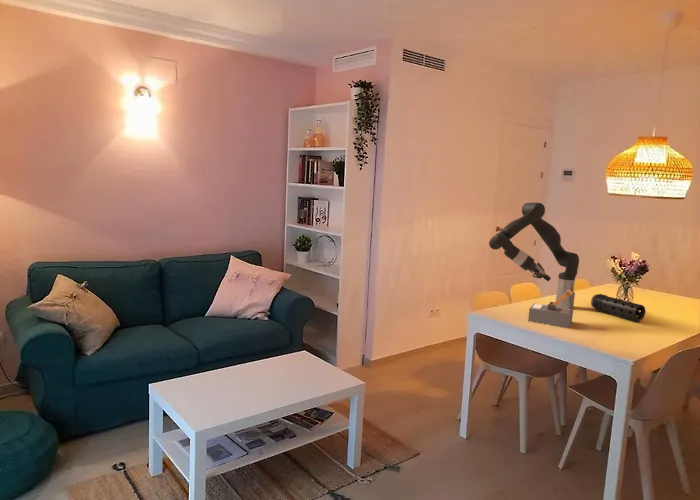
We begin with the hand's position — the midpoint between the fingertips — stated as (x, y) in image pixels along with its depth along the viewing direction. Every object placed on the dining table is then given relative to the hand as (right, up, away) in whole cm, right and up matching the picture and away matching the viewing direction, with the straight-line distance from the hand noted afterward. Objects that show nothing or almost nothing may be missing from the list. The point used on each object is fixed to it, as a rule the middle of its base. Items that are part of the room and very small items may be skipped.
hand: (549, 279), depth 275 cm
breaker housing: (+1, -22, +1) cm, 22 cm away
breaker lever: (+1, -14, -1) cm, 14 cm away
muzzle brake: (+46, -22, +20) cm, 55 cm away
